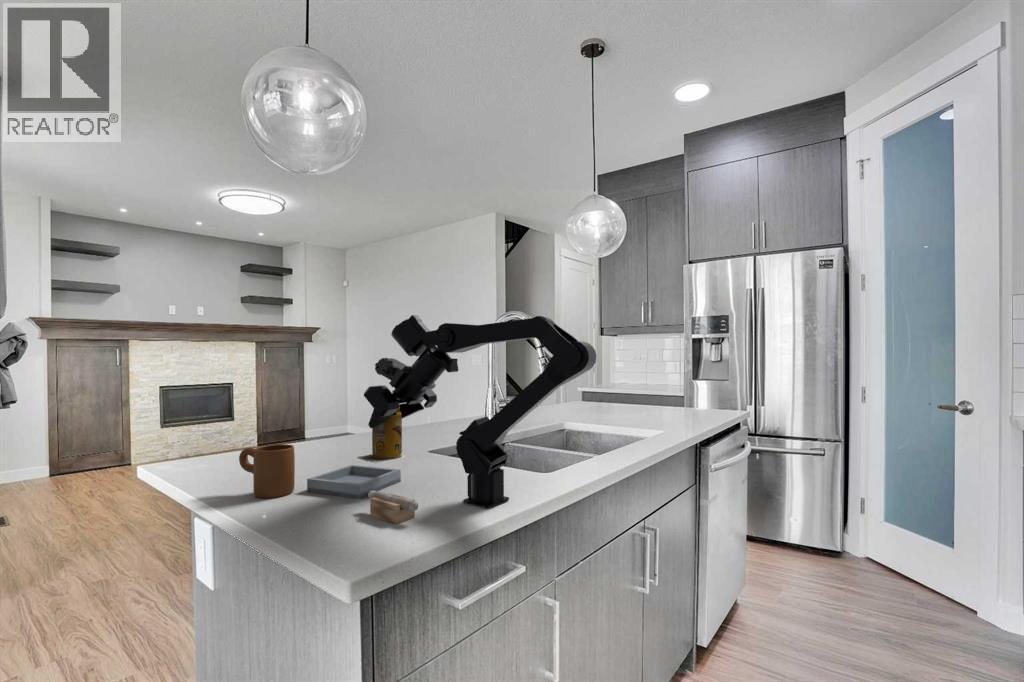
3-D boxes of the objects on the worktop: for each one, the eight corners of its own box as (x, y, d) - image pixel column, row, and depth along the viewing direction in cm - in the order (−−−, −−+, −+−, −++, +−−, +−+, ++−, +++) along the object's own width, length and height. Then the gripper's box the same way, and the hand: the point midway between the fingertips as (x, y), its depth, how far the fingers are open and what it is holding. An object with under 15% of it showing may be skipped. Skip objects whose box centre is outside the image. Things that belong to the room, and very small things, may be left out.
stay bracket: (425, 520, 83) (425, 499, 83) (407, 527, 80) (407, 505, 80) (378, 506, 91) (378, 487, 91) (360, 512, 88) (360, 492, 88)
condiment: (410, 456, 102) (410, 399, 103) (375, 464, 96) (375, 402, 96) (389, 452, 107) (389, 397, 107) (355, 458, 101) (355, 400, 101)
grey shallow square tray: (400, 481, 109) (400, 469, 109) (360, 498, 96) (360, 485, 96) (351, 475, 114) (351, 464, 114) (307, 491, 101) (307, 478, 101)
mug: (225, 496, 98) (225, 449, 98) (253, 486, 106) (253, 442, 106) (277, 500, 96) (277, 451, 96) (302, 489, 103) (302, 444, 103)
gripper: (424, 345, 110) (384, 393, 114) (371, 344, 93) (326, 400, 97) (456, 380, 107) (413, 428, 111) (407, 386, 90) (358, 443, 93)
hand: (379, 424), depth 103 cm, fingers closed on condiment, 6 cm apart
